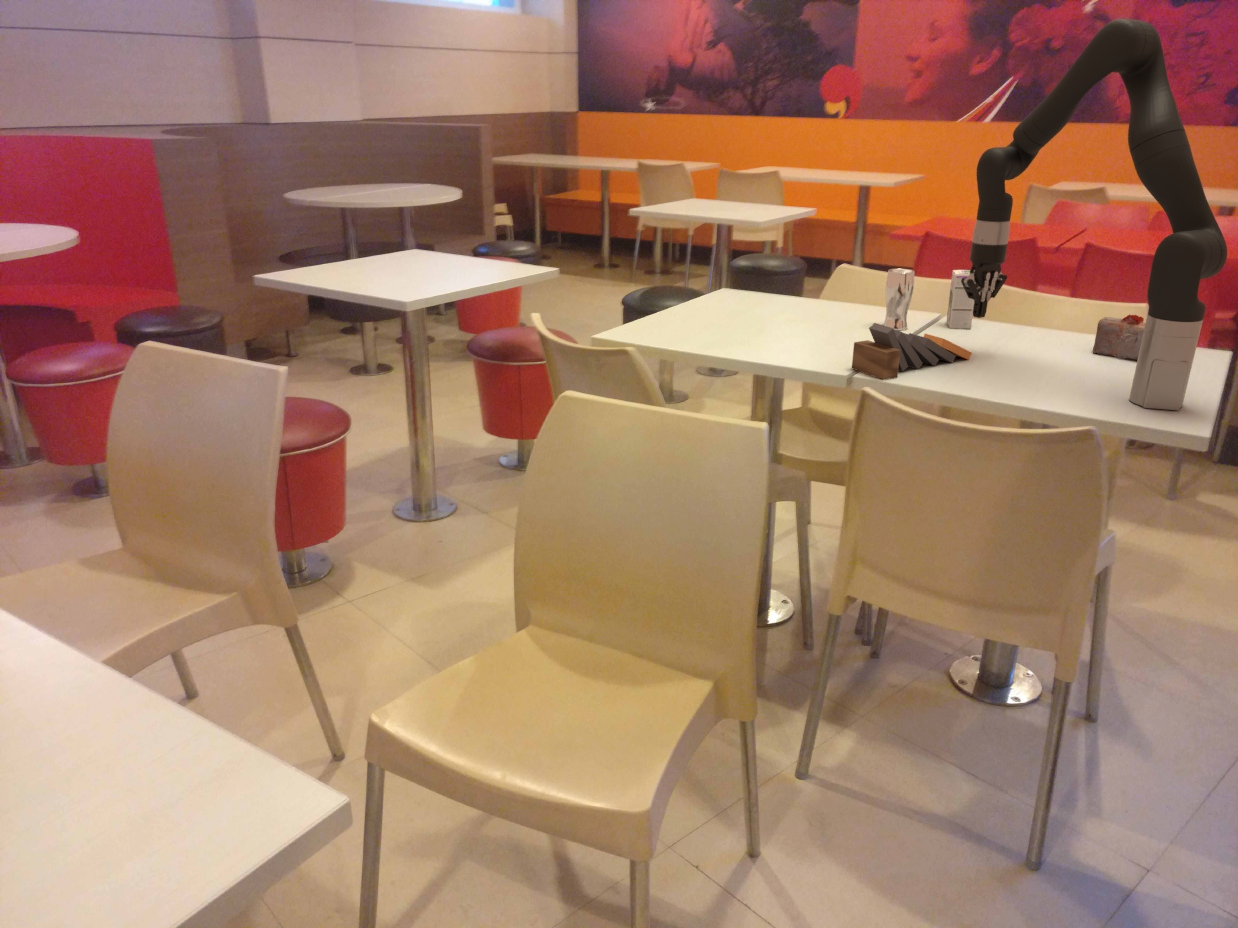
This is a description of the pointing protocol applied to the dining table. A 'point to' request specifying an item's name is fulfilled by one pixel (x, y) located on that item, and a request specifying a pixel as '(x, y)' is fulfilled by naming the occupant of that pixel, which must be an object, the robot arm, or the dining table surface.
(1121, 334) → the food item
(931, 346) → the domino
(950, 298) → the syrup box
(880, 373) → the block
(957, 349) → the orange tile
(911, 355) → the domino
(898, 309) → the beer glass
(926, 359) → the domino
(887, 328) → the domino
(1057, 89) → the robot arm
